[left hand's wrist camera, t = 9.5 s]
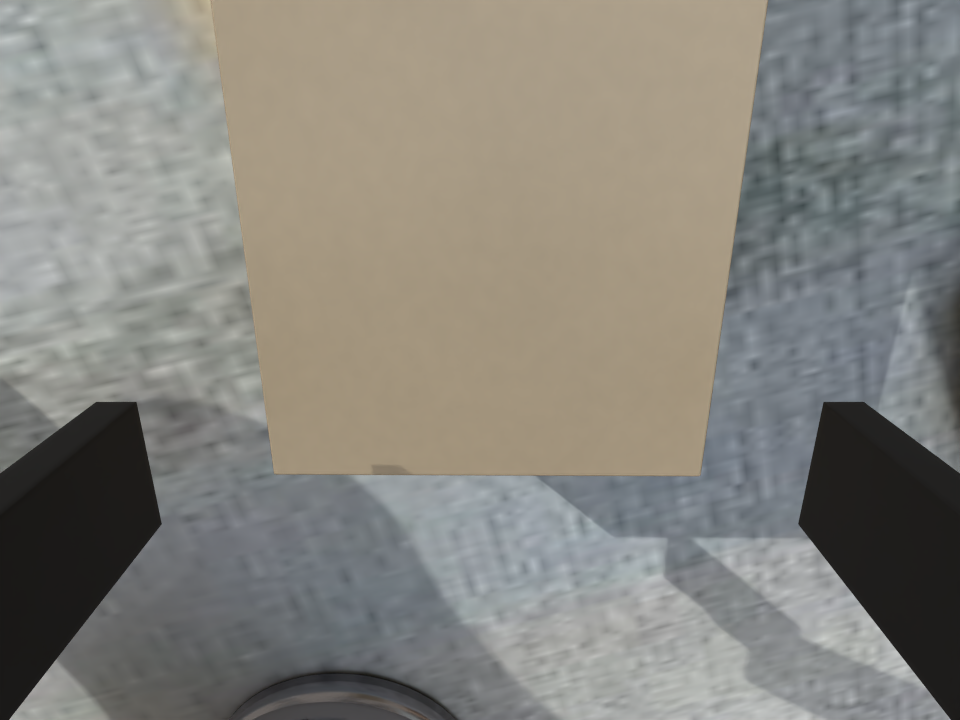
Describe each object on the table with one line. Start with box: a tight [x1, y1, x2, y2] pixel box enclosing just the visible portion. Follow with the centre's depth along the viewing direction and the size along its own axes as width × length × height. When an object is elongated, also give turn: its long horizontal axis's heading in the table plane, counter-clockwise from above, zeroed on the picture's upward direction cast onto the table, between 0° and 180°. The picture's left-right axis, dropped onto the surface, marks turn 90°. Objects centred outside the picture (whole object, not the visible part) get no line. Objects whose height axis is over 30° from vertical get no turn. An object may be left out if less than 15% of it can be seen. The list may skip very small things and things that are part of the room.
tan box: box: [211, 0, 768, 476], centre depth 19 cm, size 17×12×12 cm, turn 0°
